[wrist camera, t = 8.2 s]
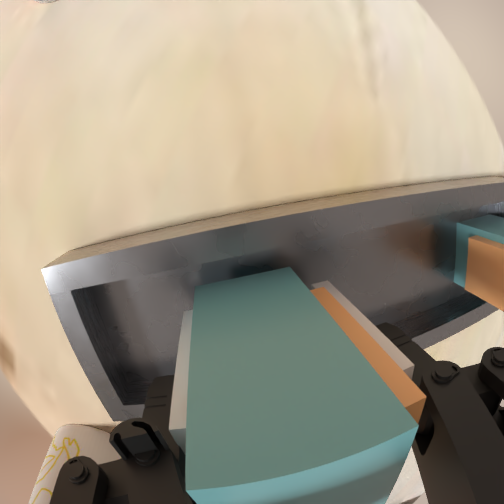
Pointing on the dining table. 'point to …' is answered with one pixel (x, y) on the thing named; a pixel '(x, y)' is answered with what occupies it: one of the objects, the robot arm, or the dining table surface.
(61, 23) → the dining table surface
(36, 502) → the cup
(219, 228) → the rail
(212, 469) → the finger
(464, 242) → the block
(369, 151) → the dining table surface
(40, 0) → the cup
